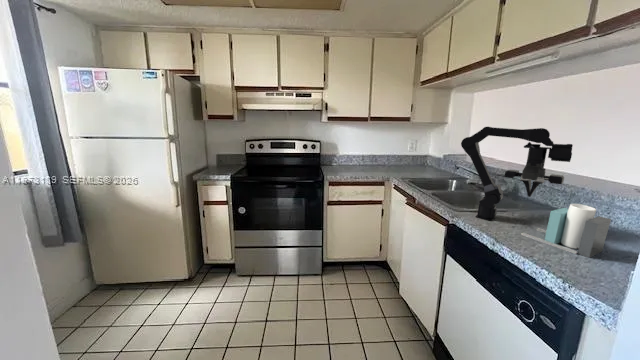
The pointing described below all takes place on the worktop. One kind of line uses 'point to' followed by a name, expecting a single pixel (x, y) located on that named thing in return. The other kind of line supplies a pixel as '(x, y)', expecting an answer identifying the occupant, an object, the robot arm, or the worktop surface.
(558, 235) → the block
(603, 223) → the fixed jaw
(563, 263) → the worktop surface
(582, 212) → the drinking glass
